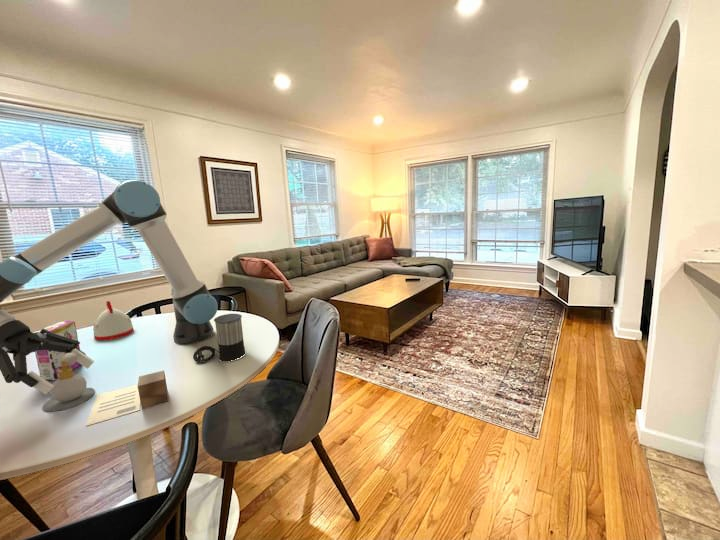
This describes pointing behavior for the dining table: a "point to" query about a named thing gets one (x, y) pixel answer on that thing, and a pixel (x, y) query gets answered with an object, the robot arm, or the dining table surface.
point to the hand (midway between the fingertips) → (72, 376)
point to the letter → (115, 404)
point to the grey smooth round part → (67, 402)
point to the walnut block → (152, 389)
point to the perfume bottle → (68, 381)
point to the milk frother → (225, 339)
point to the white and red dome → (112, 324)
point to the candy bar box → (52, 359)
